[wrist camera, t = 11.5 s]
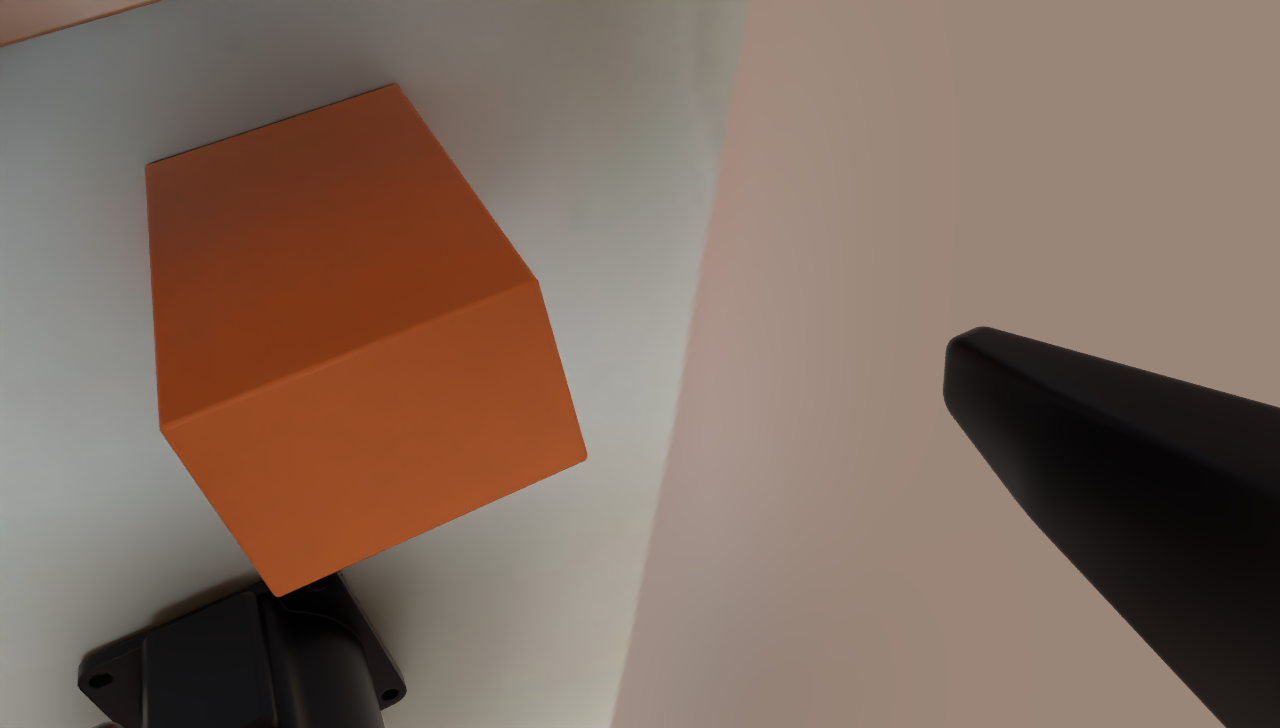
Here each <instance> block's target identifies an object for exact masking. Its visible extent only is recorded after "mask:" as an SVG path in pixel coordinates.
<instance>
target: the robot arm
mask: <svg viewBox="0 0 1280 728" xmlns="http://www.w3.org/2000/svg"><path fill="white" fill-rule="evenodd" d="M943 396H944V401H945V404H946V406H947V408H948V410H949V412H950V413H951V415H952V416H953V418H954V419H955V420H956V422H957V423H958V424H959V426H960V427H961V428H962V430H964V432H965V433H966V435H967V436H968V438H969V439H970V440H971V441H972V443H973V444H974V445H975V447H976V448H977V449H978V451H979V452H980V453H981V455H982V456H983V457H984V459H985V460H986V461H987V463H988V464H989V465H990V467H991V468H992V469H993V471H994V472H995V473H996V474H997V476H998V477H999V479H1000V480H1001V481H1002V483H1003V484H1004V485H1005V487H1006V488H1007V489H1008V491H1009V492H1010V493H1011V495H1012V496H1013V497H1014V499H1015V500H1016V501H1017V502H1018V504H1019V505H1020V506H1021V507H1022V508H1023V510H1024V511H1025V512H1026V513H1027V515H1028V516H1029V517H1030V518H1031V519H1032V520H1033V521H1034V522H1035V524H1036V525H1037V526H1038V527H1039V528H1040V529H1041V530H1042V531H1043V533H1045V535H1046V536H1047V537H1048V538H1049V539H1050V540H1051V541H1052V542H1053V543H1054V544H1055V545H1056V546H1057V548H1058V549H1060V551H1061V552H1062V553H1063V554H1064V555H1065V556H1066V557H1067V558H1068V559H1069V560H1070V561H1071V563H1072V564H1073V565H1074V566H1075V567H1076V568H1077V569H1078V570H1079V571H1080V572H1081V573H1082V574H1083V575H1084V576H1085V577H1086V578H1087V580H1088V581H1089V582H1090V583H1091V584H1092V585H1093V586H1094V587H1095V588H1096V589H1097V590H1098V591H1099V592H1100V593H1101V595H1103V597H1104V598H1105V599H1106V600H1107V601H1108V602H1109V603H1110V604H1111V605H1112V606H1113V607H1114V608H1115V610H1117V612H1118V613H1119V614H1120V615H1121V616H1122V617H1123V618H1124V619H1125V620H1126V621H1127V622H1128V623H1129V625H1130V626H1131V627H1132V628H1133V629H1134V630H1135V631H1136V632H1137V633H1138V634H1139V635H1140V636H1141V637H1142V638H1143V639H1144V641H1145V642H1146V643H1147V644H1148V645H1149V646H1150V647H1151V648H1152V649H1153V650H1154V651H1155V652H1156V653H1157V654H1158V656H1159V657H1161V659H1162V660H1163V661H1164V662H1165V663H1166V664H1167V665H1168V666H1169V667H1170V668H1171V669H1172V670H1173V672H1174V673H1175V674H1176V675H1177V676H1178V677H1179V678H1180V679H1181V680H1182V681H1183V682H1184V683H1185V684H1186V685H1187V686H1188V687H1189V689H1190V690H1191V691H1192V692H1193V693H1194V694H1195V695H1196V696H1197V697H1198V698H1199V699H1200V700H1201V701H1202V703H1203V704H1204V705H1205V706H1206V707H1207V708H1208V709H1209V710H1210V711H1211V712H1212V713H1213V714H1214V715H1215V716H1216V717H1217V719H1218V720H1220V722H1221V723H1222V724H1223V725H1224V726H1225V727H1226V728H1280V408H1279V407H1276V406H1272V405H1268V404H1265V403H1261V402H1257V401H1254V400H1250V399H1247V398H1243V397H1239V396H1236V395H1232V394H1228V393H1225V392H1221V391H1218V390H1214V389H1211V388H1207V387H1203V386H1200V385H1196V384H1193V383H1189V382H1185V381H1182V380H1178V379H1174V378H1171V377H1167V376H1164V375H1159V374H1156V373H1153V372H1149V371H1146V370H1142V369H1138V368H1134V367H1131V366H1127V365H1124V364H1120V363H1117V362H1113V361H1109V360H1105V359H1102V358H1099V357H1095V356H1091V355H1088V354H1084V353H1080V352H1077V351H1073V350H1070V349H1066V348H1062V347H1059V346H1055V345H1052V344H1048V343H1044V342H1041V341H1037V340H1034V339H1030V338H1027V337H1023V336H1019V335H1016V334H1012V333H1008V332H1005V331H1001V330H998V329H994V328H990V327H976V328H974V329H971V330H969V331H967V332H965V333H963V334H960V335H958V336H956V337H954V338H953V339H951V340H950V341H949V343H948V345H947V347H946V356H945V370H944V384H943ZM100 673H107V674H103V675H96V674H100ZM78 687H79V689H80V690H81V691H82V692H83V693H84V694H85V695H86V696H87V697H88V698H89V699H90V700H91V701H92V702H93V703H94V704H95V705H96V706H97V707H98V708H99V709H100V710H102V711H103V712H104V713H105V714H106V715H107V716H108V717H109V718H110V719H111V720H112V721H113V722H111V721H109V722H105V723H102V724H100V725H98V726H95V727H93V728H385V727H384V723H383V720H382V716H381V712H380V711H381V710H383V709H385V708H387V707H389V706H391V705H393V704H395V703H397V702H399V701H400V700H401V699H402V698H403V697H404V696H405V694H406V692H407V690H406V685H405V682H404V679H403V676H402V674H401V672H400V671H399V669H398V667H397V666H396V664H395V662H394V661H393V659H392V657H391V656H390V654H389V652H388V651H387V649H386V647H385V646H384V644H383V642H382V641H381V639H380V637H379V636H378V634H377V632H376V631H375V629H374V628H373V626H372V624H371V623H370V621H369V619H368V618H367V616H366V614H365V613H364V611H363V609H362V608H361V606H360V604H359V603H358V601H357V599H356V598H355V596H354V594H353V593H352V591H351V589H350V588H349V586H348V584H347V583H346V581H345V579H344V578H343V576H342V574H341V573H340V571H337V572H334V573H332V574H330V575H328V576H326V577H323V578H321V579H319V580H317V581H314V582H312V583H310V584H308V585H305V586H303V587H301V588H299V589H296V590H294V591H292V592H290V593H288V594H285V595H283V596H281V597H276V596H275V595H274V594H273V593H272V592H271V590H270V589H269V587H268V586H267V584H266V583H265V582H264V581H261V582H259V583H257V584H254V585H252V586H250V587H248V588H245V589H243V590H241V591H239V592H236V593H234V594H232V595H229V596H227V597H225V598H223V599H220V600H218V601H216V602H214V603H211V604H209V605H207V606H204V607H202V608H200V609H198V610H195V611H193V612H191V613H189V614H186V615H184V616H182V617H180V618H177V619H175V620H173V621H170V622H168V623H166V624H164V625H161V626H159V627H157V628H155V629H152V630H150V631H148V632H145V633H143V634H141V635H139V636H136V637H134V638H132V639H130V640H127V641H125V642H123V643H121V644H118V645H116V646H114V647H111V648H109V649H107V650H105V651H102V652H100V653H98V654H96V655H93V656H91V657H89V658H88V659H86V660H84V661H83V662H82V663H81V665H80V666H79V670H78Z"/></svg>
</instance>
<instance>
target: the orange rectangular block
mask: <svg viewBox="0 0 1280 728" xmlns="http://www.w3.org/2000/svg"><path fill="white" fill-rule="evenodd" d="M145 177H146V195H147V213H148V231H149V249H150V267H151V285H152V303H153V321H154V339H155V357H156V375H157V393H158V411H159V428H160V431H161V433H162V434H163V436H164V437H165V439H166V440H167V441H168V443H169V444H170V446H171V447H172V449H173V450H174V452H175V453H176V454H177V456H178V457H179V459H180V460H181V462H182V463H183V465H184V466H185V467H186V469H187V470H188V472H189V473H190V475H191V476H192V478H193V479H194V480H195V482H196V483H197V485H198V486H199V488H200V489H201V491H202V492H203V493H204V495H205V496H206V498H207V499H208V501H209V502H210V504H211V505H212V506H213V508H214V509H215V511H216V512H217V514H218V515H219V517H220V518H221V519H222V521H223V522H224V524H225V525H226V527H227V528H228V530H229V531H230V532H231V534H232V535H233V537H234V538H235V540H236V541H237V543H238V544H239V545H240V547H241V548H242V550H243V551H244V553H245V554H246V556H247V557H248V558H249V560H250V561H251V563H252V564H253V566H254V567H255V569H256V570H257V571H258V573H259V574H260V576H261V577H262V579H263V580H264V582H265V583H266V584H267V586H268V587H269V589H270V590H271V592H272V593H273V594H274V595H275V596H276V597H281V596H283V595H285V594H288V593H290V592H292V591H294V590H296V589H299V588H301V587H303V586H305V585H308V584H310V583H312V582H314V581H317V580H319V579H321V578H323V577H326V576H328V575H330V574H332V573H334V572H337V571H339V570H341V569H343V568H346V567H348V566H350V565H352V564H355V563H357V562H359V561H361V560H364V559H366V558H368V557H370V556H372V555H375V554H377V553H379V552H381V551H384V550H386V549H388V548H390V547H393V546H395V545H397V544H399V543H402V542H404V541H406V540H408V539H411V538H413V537H415V536H417V535H419V534H422V533H424V532H426V531H428V530H431V529H433V528H435V527H437V526H440V525H442V524H444V523H446V522H449V521H451V520H453V519H455V518H457V517H460V516H462V515H464V514H466V513H469V512H471V511H473V510H475V509H478V508H480V507H482V506H484V505H487V504H489V503H491V502H493V501H495V500H498V499H500V498H502V497H504V496H507V495H509V494H511V493H513V492H516V491H518V490H520V489H522V488H525V487H527V486H529V485H531V484H533V483H536V482H538V481H540V480H542V479H545V478H547V477H549V476H551V475H554V474H556V473H558V472H560V471H563V470H565V469H567V468H569V467H571V466H574V465H576V464H578V463H580V462H583V461H585V460H586V459H587V451H586V448H585V444H584V441H583V437H582V434H581V430H580V427H579V423H578V420H577V416H576V413H575V409H574V406H573V402H572V399H571V395H570V392H569V388H568V385H567V381H566V378H565V374H564V371H563V367H562V364H561V360H560V357H559V353H558V350H557V346H556V342H555V339H554V335H553V332H552V328H551V325H550V321H549V318H548V314H547V311H546V307H545V304H544V300H543V297H542V293H541V290H540V286H539V283H538V280H537V279H536V278H535V276H534V275H533V273H532V272H531V271H530V269H529V268H528V266H527V265H526V264H525V262H524V261H523V259H522V258H521V257H520V255H519V254H518V252H517V251H516V250H515V248H514V247H513V245H512V244H511V243H510V241H509V240H508V238H507V237H506V236H505V234H504V233H503V231H502V230H501V229H500V227H499V226H498V224H497V223H496V222H495V220H494V219H493V218H492V216H491V215H490V213H489V212H488V211H487V209H486V208H485V206H484V205H483V204H482V202H481V201H480V199H479V198H478V197H477V195H476V194H475V192H474V191H473V190H472V188H471V187H470V185H469V184H468V183H467V181H466V180H465V178H464V177H463V176H462V174H461V173H460V171H459V170H458V169H457V167H456V166H455V164H454V163H453V162H452V160H451V159H450V157H449V156H448V155H447V153H446V152H445V150H444V149H443V148H442V146H441V145H440V143H439V142H438V141H437V139H436V138H435V136H434V135H433V134H432V132H431V131H430V129H429V128H428V127H427V125H426V124H425V122H424V121H423V120H422V118H421V117H420V115H419V114H418V113H417V111H416V110H415V108H414V107H413V106H412V104H411V103H410V101H409V100H408V99H407V97H406V96H405V94H404V93H403V92H402V90H401V89H400V87H399V86H398V85H397V84H393V85H390V86H387V87H384V88H381V89H378V90H375V91H372V92H369V93H366V94H363V95H360V96H357V97H354V98H350V99H347V100H344V101H341V102H338V103H335V104H332V105H329V106H326V107H323V108H320V109H317V110H314V111H311V112H308V113H305V114H302V115H299V116H296V117H293V118H290V119H287V120H283V121H280V122H277V123H274V124H271V125H268V126H265V127H262V128H259V129H256V130H253V131H250V132H247V133H244V134H241V135H238V136H235V137H232V138H229V139H226V140H223V141H220V142H216V143H213V144H210V145H207V146H204V147H201V148H198V149H195V150H192V151H189V152H186V153H183V154H180V155H177V156H174V157H171V158H168V159H165V160H162V161H159V162H156V163H153V164H150V165H147V166H146V167H145Z"/></svg>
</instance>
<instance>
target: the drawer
mask: <svg viewBox="0 0 1280 728" xmlns="http://www.w3.org/2000/svg"><path fill="white" fill-rule="evenodd" d="M159 1H162V0H0V47H4V46H7V45H10V44H14V43H17V42H21V41H24V40H28V39H31V38H35V37H38V36H42V35H45V34H48V33H52V32H55V31H59V30H62V29H66V28H69V27H73V26H76V25H80V24H83V23H86V22H90V21H93V20H97V19H100V18H104V17H107V16H111V15H114V14H117V13H121V12H124V11H128V10H131V9H135V8H138V7H142V6H145V5H149V4H152V3H155V2H159Z"/></svg>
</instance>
